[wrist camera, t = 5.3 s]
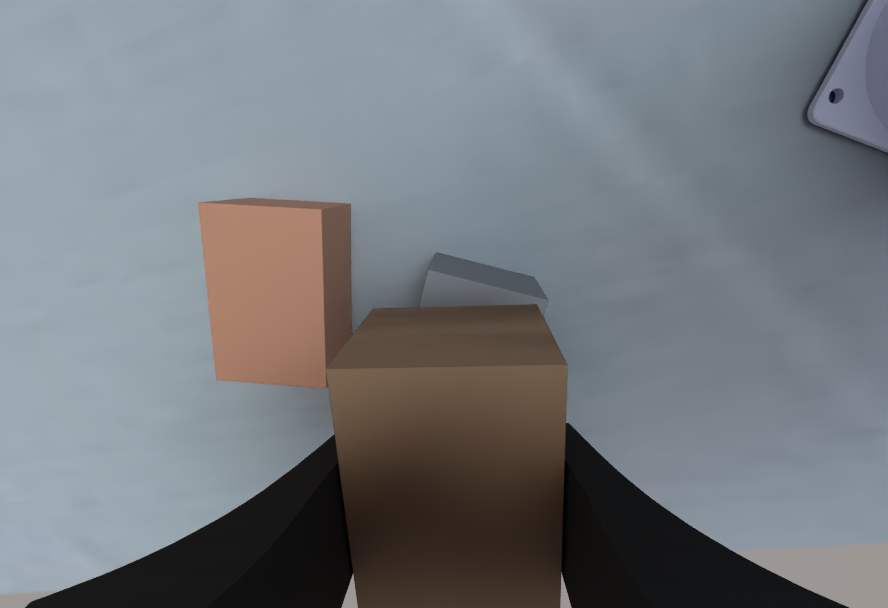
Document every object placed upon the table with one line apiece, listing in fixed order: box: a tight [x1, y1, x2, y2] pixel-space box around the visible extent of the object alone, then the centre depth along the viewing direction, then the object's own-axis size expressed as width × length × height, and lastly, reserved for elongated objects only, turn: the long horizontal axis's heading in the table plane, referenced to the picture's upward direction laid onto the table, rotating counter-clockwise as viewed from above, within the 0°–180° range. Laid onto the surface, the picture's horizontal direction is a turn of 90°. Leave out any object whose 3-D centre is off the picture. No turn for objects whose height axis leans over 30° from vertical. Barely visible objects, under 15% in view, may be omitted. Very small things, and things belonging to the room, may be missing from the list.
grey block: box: [419, 253, 548, 315], centre depth 19 cm, size 7×4×4 cm, turn 166°
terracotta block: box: [198, 198, 352, 388], centre depth 18 cm, size 7×4×4 cm, turn 177°
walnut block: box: [326, 304, 567, 608], centre depth 11 cm, size 7×4×4 cm, turn 3°
